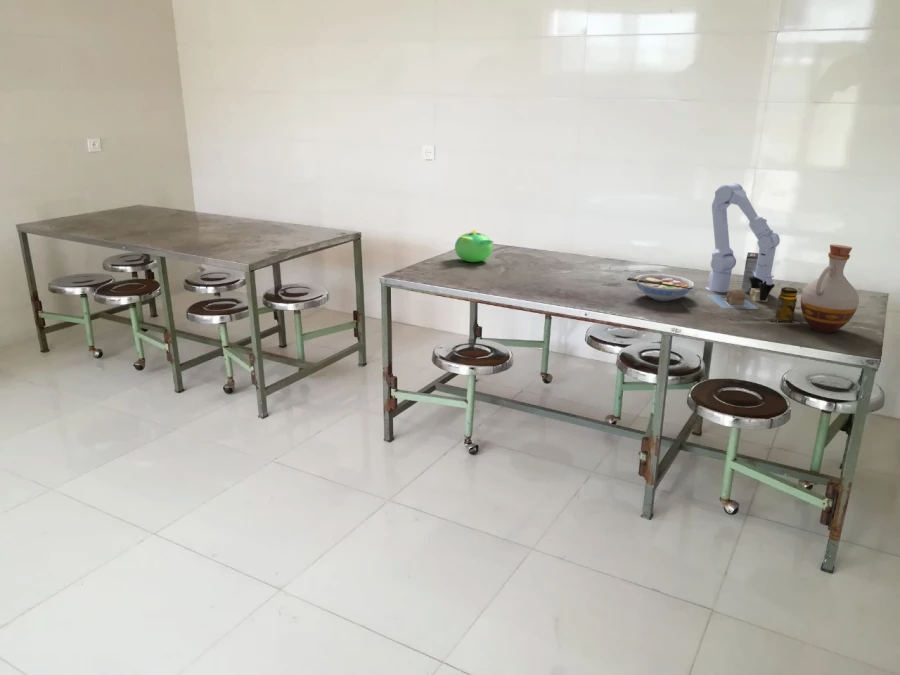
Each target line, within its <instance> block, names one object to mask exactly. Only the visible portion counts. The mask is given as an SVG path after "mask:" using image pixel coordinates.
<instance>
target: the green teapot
mask: <svg viewBox="0 0 900 675" xmlns="http://www.w3.org/2000/svg"><path fill="white" fill-rule="evenodd" d="M493 243H494V240H492V239H490V237H488V236H487V235H485V234H484V233H480V232H478V230H477V229H475V230H472V231H470V232H467V233H464V234H462V235H460V236H459V237H458V238H457V239H456V241H455V244H454V251H455V253H456V256H458V257H459V259H461V260H463V261H465V262H469V263H479V262H482V261H486V260H487V259H488V258H489V257H490V256H491V255H492V252H493V250H494V249H493Z"/></svg>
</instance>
